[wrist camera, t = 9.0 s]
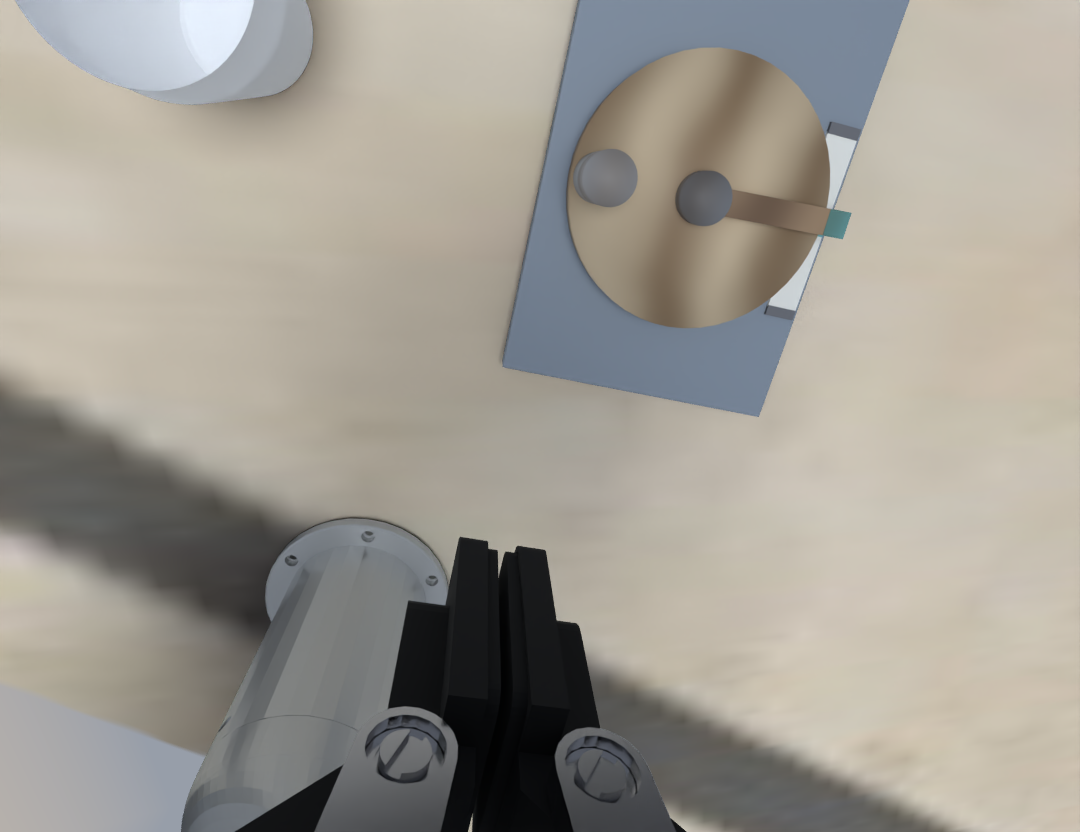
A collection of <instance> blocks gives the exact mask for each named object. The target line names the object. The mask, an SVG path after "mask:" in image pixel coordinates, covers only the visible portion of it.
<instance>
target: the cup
mask: <svg viewBox="0 0 1080 832" xmlns="http://www.w3.org/2000/svg"><path fill="white" fill-rule="evenodd" d="M15 1H16V3H17V4H18V6H19V8H20V9H21V11H22V12H23V13H24V15H25V16H26V18H27V19H28V21H29V22H30V23H31V24H32V25H33V27H34V28H35V29H36V30H37V32H38V33H39V34H40V35H41V36H42V37H43V38H44V39H45V40H46V41H47V42H48V43H49V44H50V45H51V46H52V47H53V48H54V49H55V50H56V51H58V52H59V53H60V54H61V55H62V56H64V57H65V58H66V59H68V60H69V61H70V62H72V63H73V64H75V65H76V66H78V67H79V68H81V69H82V70H84V71H86V72H88V73H89V74H91V75H93V76H95V77H97V78H100V79H102V80H104V81H106V82H109V83H112V84H115V85H118V86H121V87H124V88H127V89H130V90H133V91H135V92H137V93H139V94H142V95H144V96H147V97H150V98H153V99H156V100H160V101H164V102H168V103H176V104H189V105H198V104H209V103H218V102H226V101H234V100H241V99H249V98H257V97H264V96H270V95H274V94H277V93H279V92H281V91H283V90H285V89H287V88H288V87H290V86H291V85H292V84H293V83H294V82H295V81H297V79H298V78H299V77H300V76H301V74H302V73H303V71H304V70H305V68H306V66H307V64H308V61H309V59H310V55H311V51H312V45H313V25H312V19H311V15H310V11H309V8H308V5H307V3H306V0H15Z"/></svg>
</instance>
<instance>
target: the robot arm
mask: <svg viewBox="0 0 1080 832" xmlns="http://www.w3.org/2000/svg"><path fill="white" fill-rule="evenodd" d="M368 531H370V532H368ZM432 575H433V576H432ZM265 602H266V608H267V613H268V616H269V618H270V621H271V624H270V626H269V628H268V630H267V632H266V634H265V636H264V638H263V640H262V643H261V645H260V647H259V649H258V651H257V653H256V655H255V657H254V659H253V661H252V663H251V665H250V667H249V669H248V671H247V673H246V675H245V677H244V679H243V682H242V684H241V686H240V688H239V690H238V692H237V694H236V696H235V698H234V700H233V702H232V704H231V706H230V708H229V710H228V712H227V714H226V716H225V718H224V720H223V723H222V725H221V727H220V729H219V731H218V733H217V735H216V737H215V739H214V741H213V743H212V745H211V747H210V749H209V751H208V753H207V755H206V757H205V759H204V761H203V763H202V766H201V768H200V770H199V772H198V774H197V776H196V778H195V780H194V783H193V785H192V787H191V789H190V792H189V795H188V798H187V801H186V805H185V809H184V814H183V819H182V827H181V828H182V829H181V832H468V829H469V825H470V821H471V817H472V813H473V823H472V832H686V831H685V830H684V829H683V828H681V827H680V826H679V825H678V824H677V823H676V822H674V821H673V820H672V819H671V818H670V816H669V814H668V811H667V809H666V807H665V804H664V802H663V800H662V797H661V795H660V793H659V790H658V788H657V786H656V783H655V781H654V779H653V776H652V774H651V772H650V769H649V767H648V765H647V764H646V762H645V760H644V758H643V757H642V755H641V753H640V752H639V751H638V750H637V749H636V748H635V747H634V746H633V745H632V744H631V743H630V742H628V741H627V740H625V739H624V738H622V737H621V736H619V735H617V734H615V733H613V732H610V731H607V730H605V729H600V725H599V720H598V715H597V711H596V706H595V701H594V696H593V691H592V686H591V681H590V676H589V671H588V666H587V661H586V656H585V651H584V646H583V641H582V636H581V632H580V628H579V626H578V625H577V624H576V623H570V622H563V621H557V620H556V614H555V607H554V601H553V594H552V588H551V581H550V575H549V568H548V562H547V555H546V551H545V550H541V549H535V548H528V547H522V546H517V547H516V550H515V553H511V552H505V554H504V557H503V561H502V566H501V570H500V574H499V578H498V551H497V550H492V549H488V541H483V540H476V539H470V538H463V537H460V538H459V541H458V546H457V551H456V555H455V560H454V565H453V570H452V575H451V579H450V584H449V589H448V584H447V580H446V576H445V573H444V571H443V569H442V567H441V565H440V563H439V561H438V559H437V558H436V557H435V555H434V554H433V553H432V552H431V550H430V549H429V548H428V547H427V546H426V545H424V544H423V543H422V542H421V541H420V540H419V539H417V538H416V537H415V536H413V535H411V534H410V533H408V532H406V531H404V530H403V529H401V528H398V527H395V526H393V525H390V524H387V523H385V522H380V521H374V520H369V519H342V520H335V521H330V522H327V523H323V524H320V525H317V526H314V527H313V528H311V529H309V530H307V531H305V532H303V533H301V534H300V535H298V536H297V537H296V538H295V539H294V540H292V541H291V542H290V543H289V544H288V545H287V546H286V547H285V548H284V550H283V551H282V552H281V553H280V555H279V556H278V558H277V560H276V561H275V563H274V565H273V567H272V568H271V571H270V574H269V577H268V580H267V582H266V591H265Z"/></svg>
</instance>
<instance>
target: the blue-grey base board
mask: <svg viewBox="0 0 1080 832" xmlns="http://www.w3.org/2000/svg"><path fill="white" fill-rule="evenodd" d="M908 3H909V0H578V3H577V8H576V12H575V17H574V22H573V27H572V31H571V36H570V41H569V46H568V50H567V55H566V60H565V65H564V70H563V74H562V79H561V84H560V89H559V93H558V98H557V103H556V108H555V112H554V117H553V122H552V127H551V131H550V136H549V141H548V146H547V150H546V155H545V160H544V165H543V169H542V174H541V179H540V184H539V188H538V193H537V198H536V203H535V207H534V212H533V217H532V222H531V226H530V231H529V236H528V241H527V245H526V250H525V255H524V260H523V264H522V269H521V274H520V279H519V283H518V288H517V293H516V298H515V302H514V307H513V312H512V317H511V321H510V326H509V331H508V336H507V340H506V345H505V350H504V355H503V359H502V363H503V367H505V368H510V369H515V370H520V371H525V372H530V373H536V374H541V375H546V376H551V377H556V378H561V379H566V380H572V381H577V382H582V383H587V384H592V385H597V386H602V387H608V388H613V389H618V390H623V391H628V392H633V393H638V394H644V395H649V396H654V397H659V398H664V399H669V400H674V401H680V402H685V403H690V404H695V405H700V406H705V407H711V408H716V409H721V410H726V411H731V412H736V413H741V414H747V415H752V416H757V417H759V415H760V412H761V409H762V406H763V404H764V401H765V398H766V395H767V393H768V390H769V387H770V384H771V381H772V379H773V376H774V373H775V370H776V368H777V365H778V362H779V359H780V357H781V354H782V351H783V348H784V346H785V343H786V340H787V337H788V335H789V332H790V329H791V326H792V323H793V321H794V318H795V315H796V312H797V310H798V307H799V304H800V301H801V299H802V296H803V293H804V290H805V288H806V285H807V282H808V279H809V276H810V274H811V271H812V268H813V265H814V263H815V260H816V257H817V254H818V252H819V249H820V246H821V243H822V241H823V238H824V236H823V235H818V236H817V239H816V241H815V243H814V245H813V247H812V249H811V251H810V252H809V254H808V256H807V258H806V259H805V261H804V262H803V264H802V265H801V267H800V268H799V270H798V271H797V272H796V273H795V274H794V276H793V277H792V278H791V279H790V280H789V281H788V283H787V284H786V285H785V286H784V287H783V288H781V289H780V290H779V291H778V292H777V293H776V294H775V295H774V296H773V297H771V298H770V299H769V300H767V301H766V302H765V303H763V304H762V305H761V306H759V307H757V308H756V309H754V310H752V311H750V312H749V313H747V314H745V315H743V316H740V317H738V318H736V319H734V320H731V321H728V322H725V323H721V324H718V325H713V326H707V327H701V328H676V327H667V326H663V325H659V324H654V323H651V322H649V321H646V320H644V319H641V318H638V317H637V316H635V315H633V314H631V313H629V312H628V311H626V310H624V309H623V308H622V307H620V306H619V305H618V304H616V303H615V302H614V301H612V300H611V299H610V298H609V297H608V296H607V295H606V294H605V293H604V292H603V291H602V290H601V289H600V288H599V287H598V286H597V285H596V283H595V282H594V281H593V279H592V278H591V277H590V275H589V274H588V273H587V271H586V269H585V268H584V266H583V264H582V262H581V261H580V259H579V257H578V254H577V252H576V249H575V247H574V244H573V241H572V238H571V234H570V230H569V226H568V218H567V210H566V189H567V181H568V173H569V169H570V165H571V160H572V156H573V153H574V151H575V148H576V145H577V143H578V140H579V138H580V136H581V134H582V132H583V130H584V128H585V126H586V124H587V122H588V121H589V119H590V118H591V116H592V115H593V113H594V112H595V111H596V109H597V108H598V106H599V105H600V104H601V103H602V102H603V100H604V99H605V98H606V97H607V96H608V95H609V94H610V93H611V92H612V91H613V90H614V89H615V88H616V87H617V86H619V85H620V84H621V83H622V82H623V81H624V80H625V79H627V78H628V77H630V76H631V75H633V74H634V73H636V72H637V71H639V70H640V69H642V68H643V67H645V66H646V65H648V64H650V63H652V62H654V61H656V60H658V59H661V58H663V57H665V56H668V55H671V54H674V53H677V52H680V51H684V50H690V49H697V48H727V49H733V50H739V51H742V52H745V53H749V54H752V55H755V56H757V57H759V58H761V59H763V60H765V61H767V62H769V63H771V64H772V65H774V66H775V67H777V68H778V69H780V70H781V71H782V72H784V73H785V74H786V75H787V76H788V77H789V78H790V79H791V80H792V81H793V82H795V83H796V84H797V85H798V87H799V88H800V89H801V90H802V92H803V93H804V94H805V96H806V97H807V98H808V100H809V101H810V103H811V105H812V107H813V108H814V110H815V112H816V114H817V116H818V118H819V121H820V123H821V126H822V129H823V131H824V135H825V139H826V143H827V147H828V153H829V162H830V189H829V197H828V204H827V208H829V209H834V207H835V205H836V202H837V199H838V196H839V194H840V191H841V188H842V185H843V183H844V180H845V177H846V174H847V171H848V169H849V166H850V163H851V160H852V158H853V155H854V152H855V149H856V147H857V144H858V141H859V138H860V136H861V133H862V130H863V127H864V125H865V122H866V119H867V116H868V113H869V111H870V108H871V105H872V102H873V100H874V97H875V94H876V91H877V89H878V86H879V83H880V80H881V78H882V75H883V72H884V69H885V66H886V64H887V61H888V58H889V55H890V53H891V50H892V47H893V44H894V42H895V39H896V36H897V33H898V31H899V28H900V25H901V22H902V20H903V17H904V14H905V11H906V8H907V6H908Z"/></svg>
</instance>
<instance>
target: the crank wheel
mask: <svg viewBox="0 0 1080 832" xmlns="http://www.w3.org/2000/svg"><path fill="white" fill-rule="evenodd" d="M829 189H830V162H829V153H828V147H827V143H826V139H825V135H824V131H823V129H822V126H821V123H820V121H819V118H818V116H817V114H816V112H815V110H814V108H813V107H812V105H811V103H810V101H809V100H808V98H807V97H806V96H805V94H804V93H803V92H802V90H801V89H800V88H799V87H798V85H797V84H796V83H795V82H793V81H792V80H791V79H790V78H789V77H788V76H787V75H786V74H785V73H784V72H782V71H781V70H780V69H778V68H777V67H775V66H774V65H772V64H771V63H769V62H767V61H765V60H763V59H761V58H759V57H757V56H755V55H752V54H749V53H745V52H742V51H739V50H733V49H727V48H697V49H690V50H684V51H680V52H677V53H674V54H671V55H668V56H665V57H663V58H661V59H658V60H656V61H654V62H652V63H650V64H648V65H646V66H645V67H643V68H642V69H640V70H639V71H637V72H636V73H634V74H633V75H631V76H630V77H628V78H627V79H625V80H624V81H623V82H622V83H621V84H620V85H619V86H617V87H616V88H615V89H614V90H613V91H612V92H611V93H610V94H609V95H608V96H607V97H606V98H605V99H604V100H603V102H602V103H601V104H600V105H599V106H598V108H597V109H596V111H595V112H594V113H593V115H592V116H591V118H590V119H589V121H588V122H587V124H586V126H585V128H584V130H583V132H582V134H581V136H580V138H579V140H578V143H577V145H576V148H575V151H574V153H573V156H572V160H571V165H570V169H569V173H568V181H567V189H566V210H567V218H568V226H569V230H570V234H571V238H572V241H573V244H574V247H575V249H576V252H577V254H578V257H579V259H580V261H581V262H582V264H583V266H584V268H585V269H586V271H587V273H588V274H589V275H590V277H591V278H592V279H593V281H594V282H595V283H596V285H597V286H598V287H599V288H600V289H601V290H602V291H603V292H604V293H605V294H606V295H607V296H608V297H609V298H610V299H611V300H612V301H614V302H615V303H616V304H618V305H619V306H620V307H622V308H623V309H624V310H626V311H628V312H629V313H631V314H633V315H635V316H637V317H638V318H641V319H644V320H646V321H649V322H651V323H654V324H659V325H663V326H667V327H676V328H701V327H707V326H713V325H718V324H721V323H725V322H728V321H731V320H734V319H736V318H738V317H740V316H743V315H745V314H747V313H749V312H750V311H752V310H754V309H756V308H757V307H759V306H761V305H762V304H763V303H765V302H766V301H767V300H769V299H770V298H771V297H773V296H774V295H775V294H776V293H777V292H778V291H779V290H780V289H781V288H783V287H784V286H785V285H786V284H787V283H788V281H789V280H790V279H791V278H792V277H793V276H794V274H795V273H796V272H797V271H798V270H799V268H800V267H801V265H802V264H803V262H804V261H805V259H806V258H807V256H808V254H809V252H810V251H811V249H812V247H813V245H814V243H815V241H816V239H817V236H818V235H823V236H829V237H834V238H839V239H843V237H844V234H845V231H846V228H847V225H848V222H849V219H850V216H851V213H849V212H844V211H839V210H834V209H829V208H827V204H828V197H829Z"/></svg>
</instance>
